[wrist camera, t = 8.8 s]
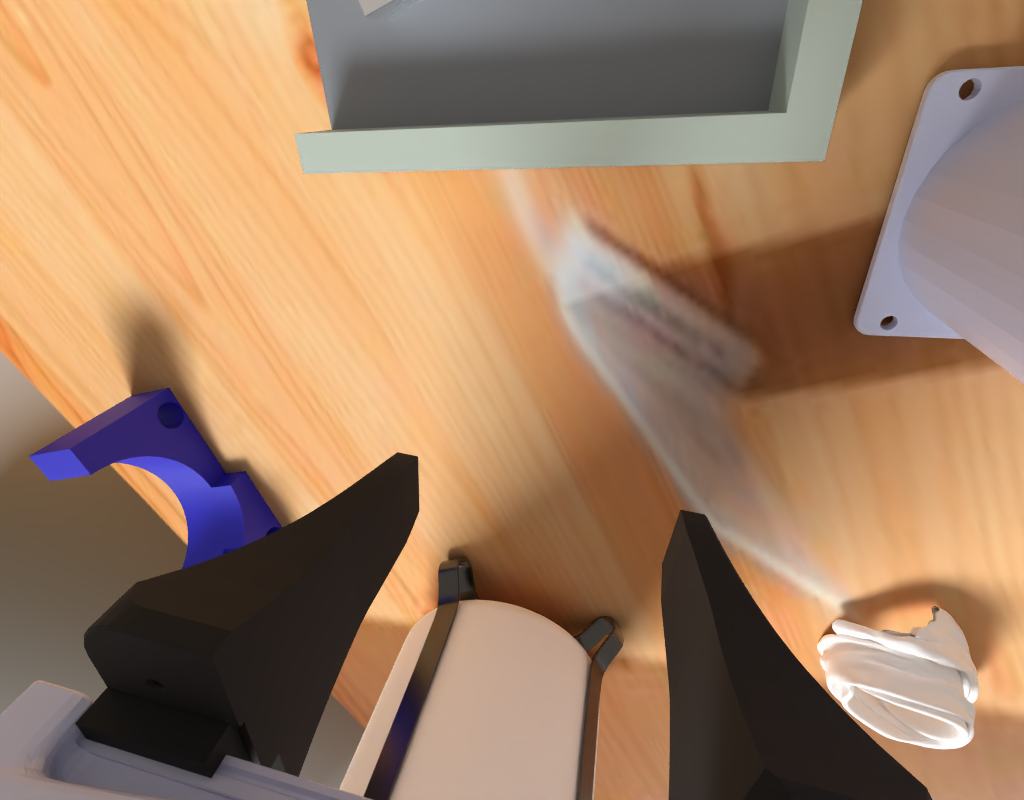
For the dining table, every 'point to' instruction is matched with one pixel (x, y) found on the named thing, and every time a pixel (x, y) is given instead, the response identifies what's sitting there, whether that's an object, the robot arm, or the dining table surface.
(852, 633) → the whipped cream
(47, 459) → the cable clip
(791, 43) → the corner tray
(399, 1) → the brushed metal block
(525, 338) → the dining table surface
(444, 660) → the coffee press
